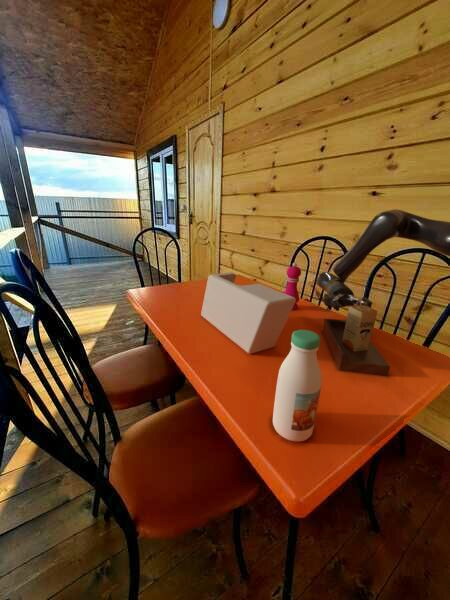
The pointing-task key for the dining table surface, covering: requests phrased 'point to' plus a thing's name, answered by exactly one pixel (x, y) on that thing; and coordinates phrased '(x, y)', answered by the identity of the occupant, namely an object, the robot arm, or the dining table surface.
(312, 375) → the milk bottle
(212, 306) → the stepped white block
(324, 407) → the dining table surface
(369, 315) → the shoe polish box
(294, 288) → the pepper mill
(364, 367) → the dark brown tray
